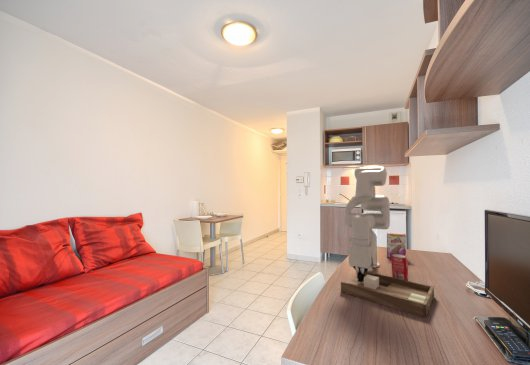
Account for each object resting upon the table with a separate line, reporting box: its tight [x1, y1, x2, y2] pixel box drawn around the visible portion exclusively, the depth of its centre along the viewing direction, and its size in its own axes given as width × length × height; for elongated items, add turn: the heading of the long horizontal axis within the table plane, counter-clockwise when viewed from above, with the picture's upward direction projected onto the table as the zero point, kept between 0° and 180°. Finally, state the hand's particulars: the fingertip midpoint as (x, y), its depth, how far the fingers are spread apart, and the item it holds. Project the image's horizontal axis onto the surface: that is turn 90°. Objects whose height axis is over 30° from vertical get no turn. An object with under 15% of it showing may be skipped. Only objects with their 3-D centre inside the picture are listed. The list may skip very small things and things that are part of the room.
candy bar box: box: [386, 231, 407, 259], centre depth 162 cm, size 11×5×16 cm, turn 66°
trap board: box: [340, 271, 435, 318], centre depth 105 cm, size 22×32×4 cm
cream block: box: [364, 275, 379, 289], centre depth 109 cm, size 5×5×4 cm
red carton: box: [391, 254, 409, 281], centre depth 120 cm, size 7×7×13 cm
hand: (361, 281), depth 113 cm, fingers closed
